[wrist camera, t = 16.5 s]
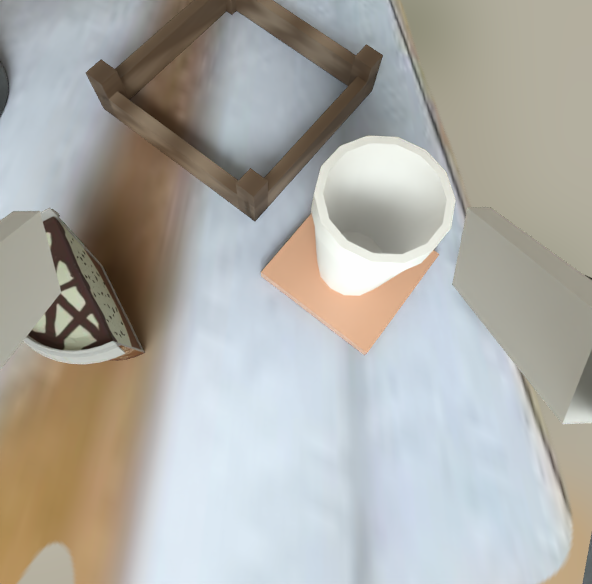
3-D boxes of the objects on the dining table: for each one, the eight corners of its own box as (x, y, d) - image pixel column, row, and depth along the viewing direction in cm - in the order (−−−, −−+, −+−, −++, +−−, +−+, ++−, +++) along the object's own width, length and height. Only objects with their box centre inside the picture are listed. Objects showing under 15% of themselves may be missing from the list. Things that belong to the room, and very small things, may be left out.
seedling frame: (103, 108, 48) (85, 72, 43) (229, -5, 53) (226, -48, 48) (255, 221, 45) (253, 196, 40) (371, 90, 50) (382, 55, 45)
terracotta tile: (261, 276, 43) (260, 272, 42) (336, 188, 47) (337, 182, 45) (364, 355, 42) (366, 353, 41) (434, 258, 45) (439, 254, 44)
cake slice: (31, 281, 42) (-39, 238, 32) (95, 251, 43) (47, 201, 34) (85, 403, 39) (26, 394, 30) (152, 367, 40) (116, 348, 31)
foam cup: (343, 199, 45) (372, 111, 32) (420, 257, 44) (481, 189, 31) (280, 269, 42) (285, 203, 30) (359, 333, 41) (399, 292, 29)
